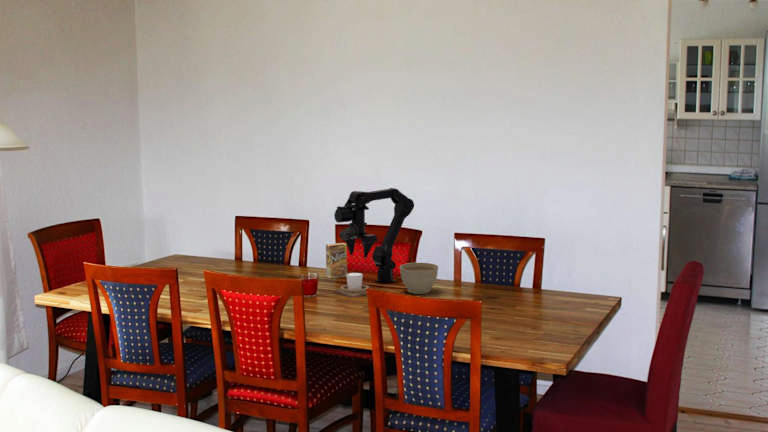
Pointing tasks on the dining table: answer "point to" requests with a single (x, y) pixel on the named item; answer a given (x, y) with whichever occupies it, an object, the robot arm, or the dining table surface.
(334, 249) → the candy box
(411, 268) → the planter bowl
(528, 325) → the dining table surface
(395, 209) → the robot arm
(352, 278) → the white cup
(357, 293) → the saucer
